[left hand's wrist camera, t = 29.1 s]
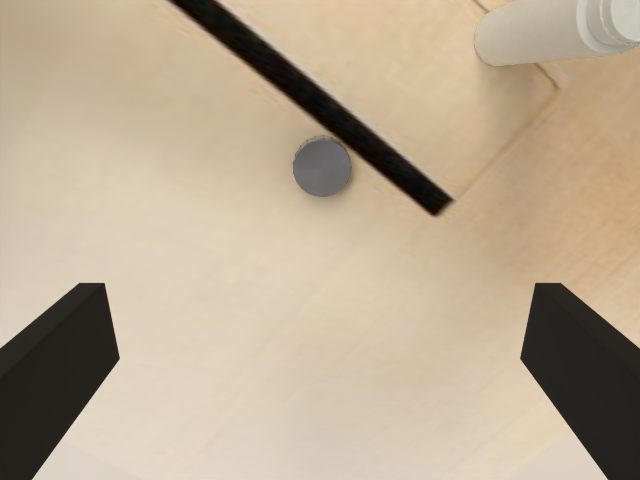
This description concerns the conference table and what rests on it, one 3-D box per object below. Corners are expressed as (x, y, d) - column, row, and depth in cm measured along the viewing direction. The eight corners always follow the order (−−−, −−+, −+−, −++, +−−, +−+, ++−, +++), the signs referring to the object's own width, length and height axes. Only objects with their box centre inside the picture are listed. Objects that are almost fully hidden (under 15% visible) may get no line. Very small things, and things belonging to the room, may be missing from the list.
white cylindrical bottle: (495, 77, 36) (633, 73, 20) (462, 37, 35) (581, -1, 19) (539, 36, 35) (721, -3, 19) (506, -7, 34) (670, -86, 18)
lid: (304, 126, 38) (303, 129, 35) (358, 147, 38) (360, 150, 36) (286, 180, 39) (284, 185, 37) (338, 198, 40) (339, 205, 38)
